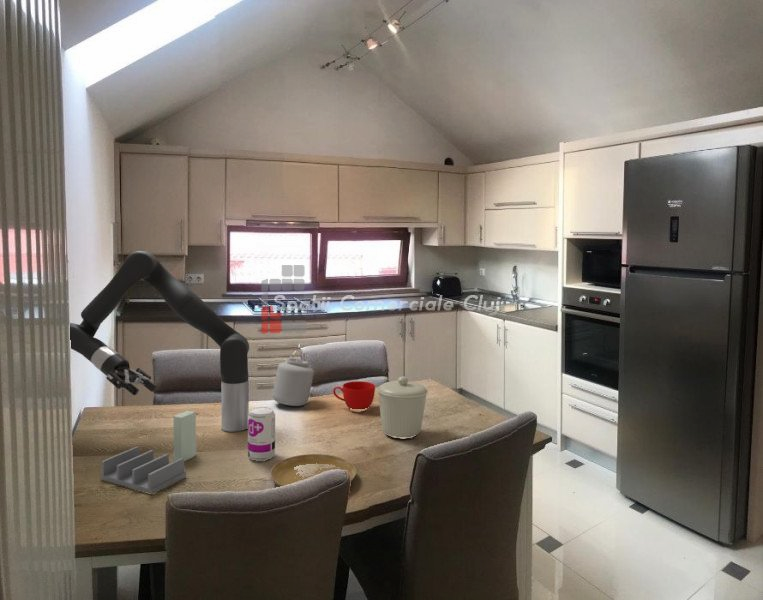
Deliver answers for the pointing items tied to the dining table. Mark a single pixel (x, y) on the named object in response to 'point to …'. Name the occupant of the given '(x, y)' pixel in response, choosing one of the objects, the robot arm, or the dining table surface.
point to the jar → (293, 382)
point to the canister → (402, 407)
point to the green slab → (184, 435)
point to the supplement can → (261, 433)
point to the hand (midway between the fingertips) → (146, 391)
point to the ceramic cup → (357, 394)
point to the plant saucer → (285, 468)
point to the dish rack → (142, 470)
